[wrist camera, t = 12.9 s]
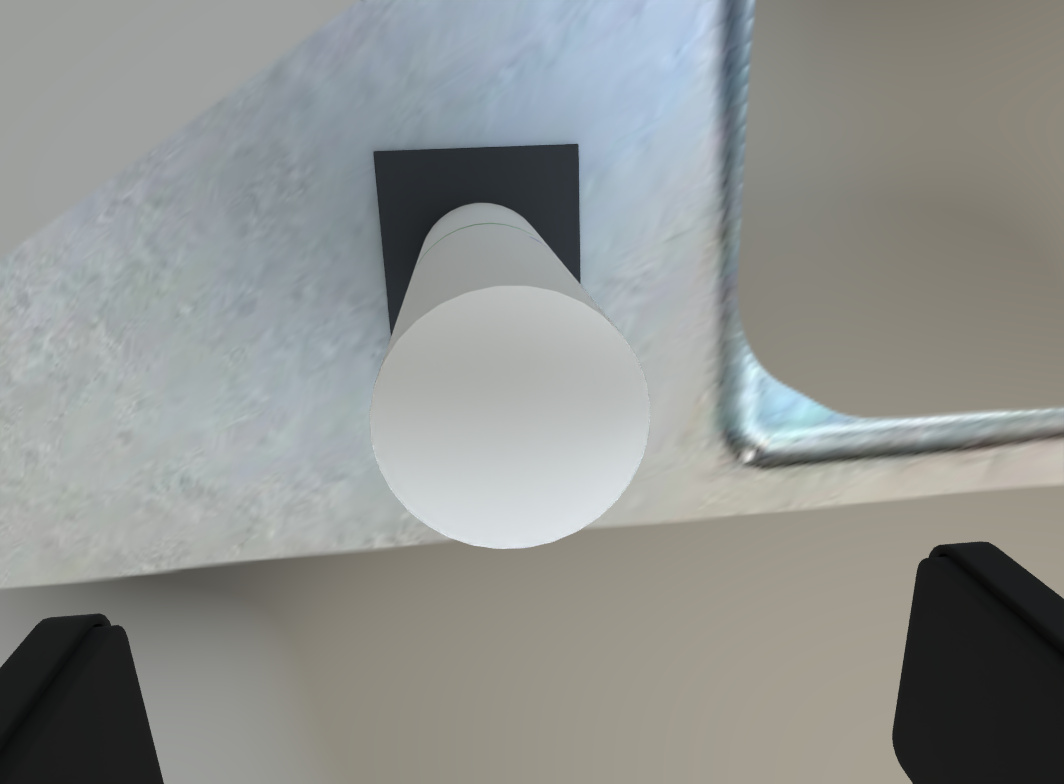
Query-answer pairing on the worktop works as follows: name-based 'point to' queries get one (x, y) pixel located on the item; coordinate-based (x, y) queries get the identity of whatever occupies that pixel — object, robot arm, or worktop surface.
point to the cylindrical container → (505, 390)
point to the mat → (474, 199)
